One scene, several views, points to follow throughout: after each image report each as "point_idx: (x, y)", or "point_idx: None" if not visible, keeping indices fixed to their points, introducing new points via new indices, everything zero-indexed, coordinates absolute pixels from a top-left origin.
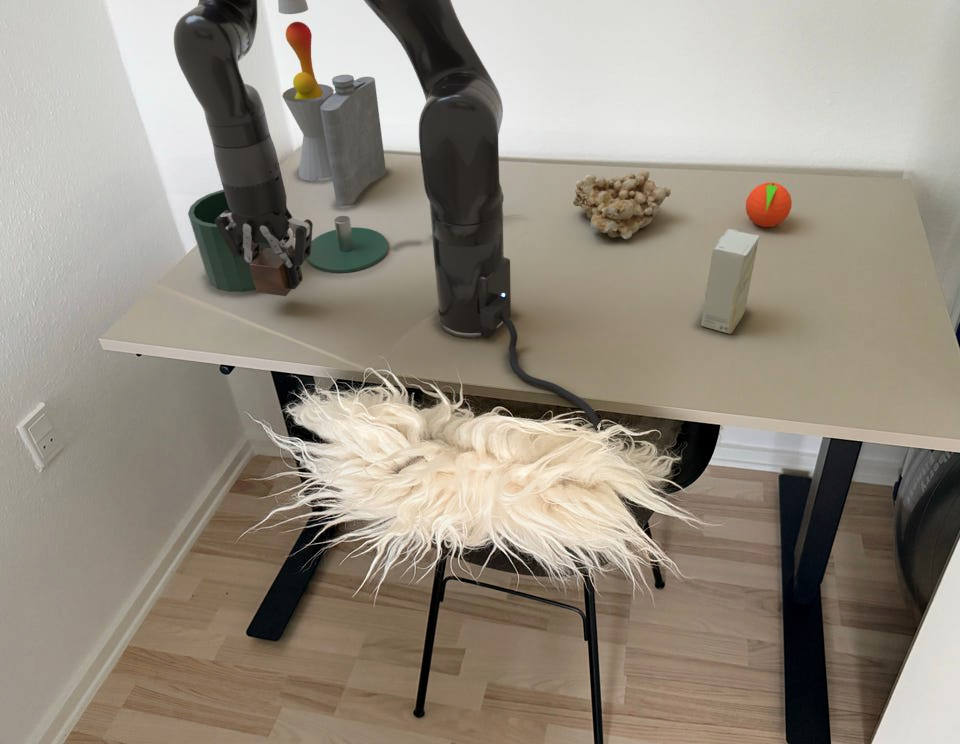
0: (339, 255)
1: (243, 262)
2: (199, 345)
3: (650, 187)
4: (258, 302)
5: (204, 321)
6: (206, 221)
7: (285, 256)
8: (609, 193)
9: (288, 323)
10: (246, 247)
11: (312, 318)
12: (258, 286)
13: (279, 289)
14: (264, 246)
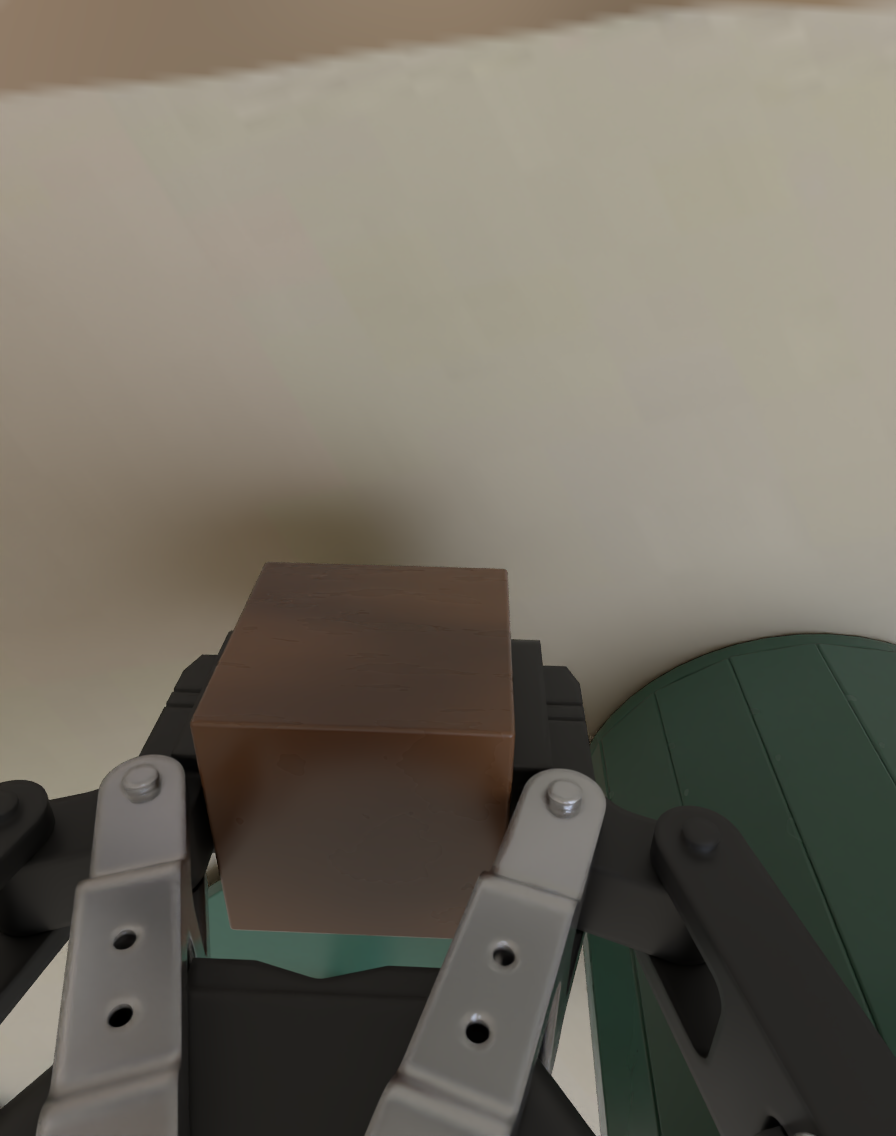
0: (352, 951)
1: (735, 818)
2: (825, 70)
3: None
4: (608, 598)
5: (887, 357)
6: None
7: (116, 847)
8: None
9: (329, 457)
10: (525, 903)
11: (224, 527)
12: (477, 597)
13: (291, 591)
14: (622, 957)
